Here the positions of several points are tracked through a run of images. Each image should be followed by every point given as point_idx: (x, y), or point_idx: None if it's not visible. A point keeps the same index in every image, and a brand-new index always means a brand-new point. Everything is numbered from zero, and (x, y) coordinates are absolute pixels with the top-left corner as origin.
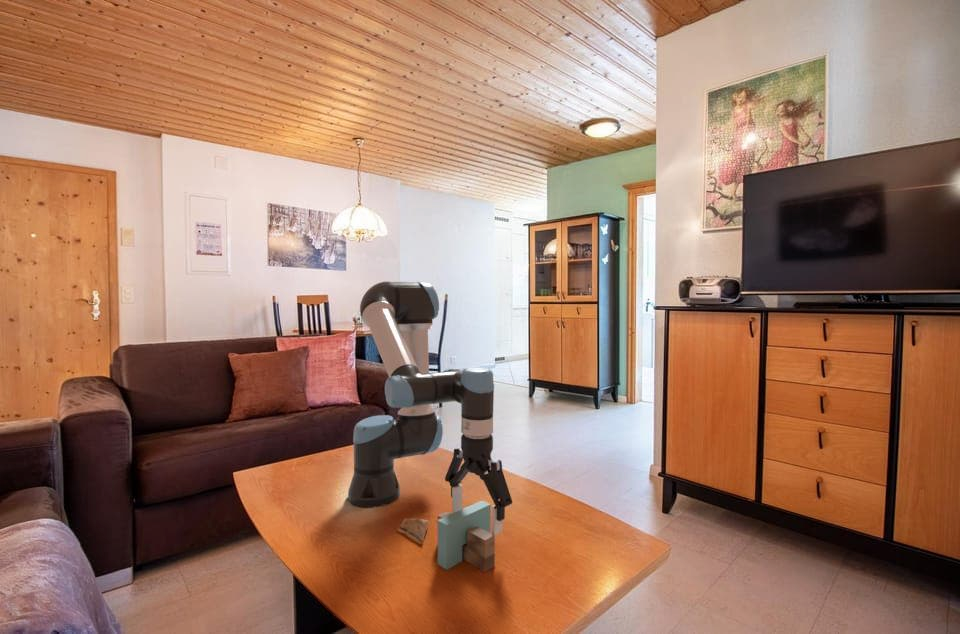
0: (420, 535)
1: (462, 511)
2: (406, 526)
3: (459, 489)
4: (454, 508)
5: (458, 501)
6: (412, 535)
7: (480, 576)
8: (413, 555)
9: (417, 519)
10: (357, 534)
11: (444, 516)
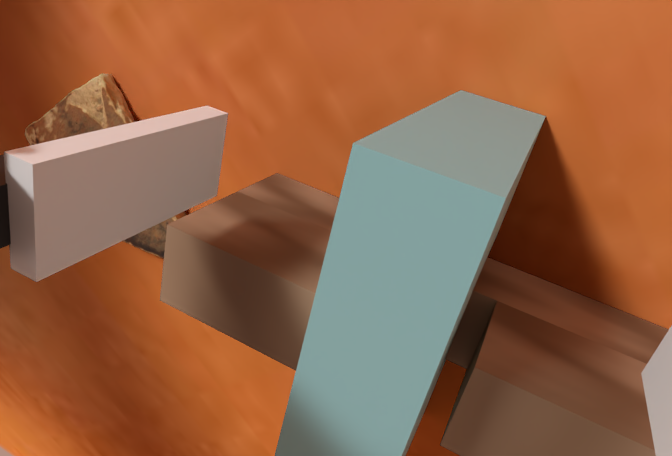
0: None
1: (316, 432)
2: None
3: (67, 199)
4: (188, 205)
5: (161, 174)
6: (144, 249)
7: None
8: (240, 349)
9: (62, 112)
10: (5, 283)
11: (199, 301)
